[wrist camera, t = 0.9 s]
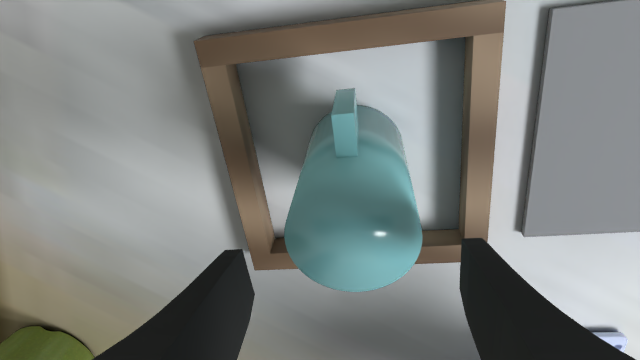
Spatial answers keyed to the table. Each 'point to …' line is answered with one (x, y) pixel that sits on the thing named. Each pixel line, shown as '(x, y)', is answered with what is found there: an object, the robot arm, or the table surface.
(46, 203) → the table surface
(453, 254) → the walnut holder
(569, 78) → the gray mat
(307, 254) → the teal jug
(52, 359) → the plant pot
